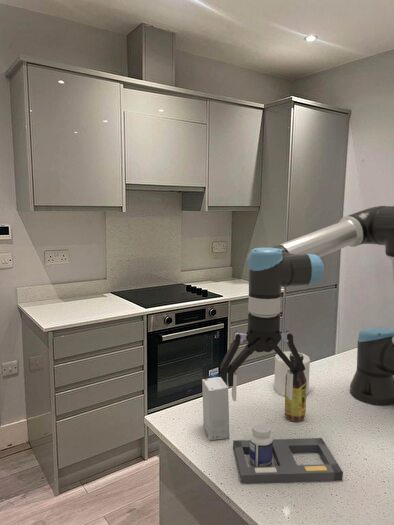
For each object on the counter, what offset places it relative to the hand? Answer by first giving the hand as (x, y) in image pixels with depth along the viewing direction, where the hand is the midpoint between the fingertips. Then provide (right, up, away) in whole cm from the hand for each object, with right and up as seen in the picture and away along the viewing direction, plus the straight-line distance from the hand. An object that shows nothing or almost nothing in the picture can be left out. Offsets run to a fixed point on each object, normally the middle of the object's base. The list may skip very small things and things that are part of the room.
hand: (261, 397), depth 99 cm
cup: (+17, -12, +43) cm, 48 cm away
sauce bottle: (+14, -14, +25) cm, 32 cm away
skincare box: (-10, -16, +17) cm, 25 cm away
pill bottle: (0, -18, +3) cm, 18 cm away
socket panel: (+6, -17, +3) cm, 19 cm away
